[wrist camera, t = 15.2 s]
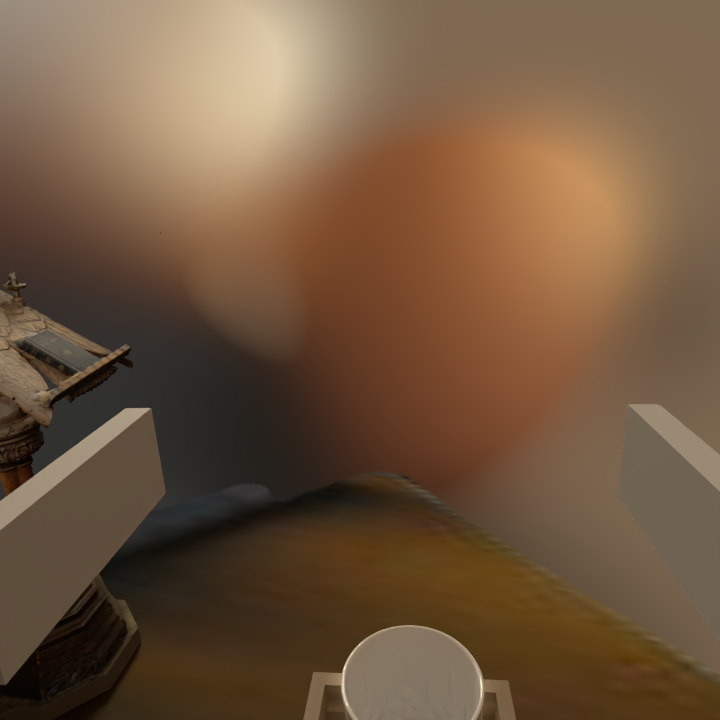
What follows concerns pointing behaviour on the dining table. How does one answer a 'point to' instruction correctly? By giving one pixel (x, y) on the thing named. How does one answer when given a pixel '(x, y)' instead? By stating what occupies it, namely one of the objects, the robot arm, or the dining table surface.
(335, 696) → the birch crate
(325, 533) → the dining table surface
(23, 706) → the bird statue
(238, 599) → the dining table surface
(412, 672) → the white cup
